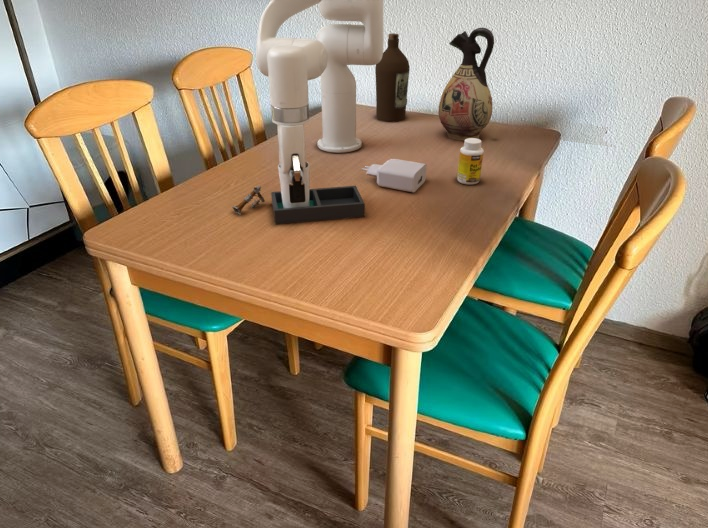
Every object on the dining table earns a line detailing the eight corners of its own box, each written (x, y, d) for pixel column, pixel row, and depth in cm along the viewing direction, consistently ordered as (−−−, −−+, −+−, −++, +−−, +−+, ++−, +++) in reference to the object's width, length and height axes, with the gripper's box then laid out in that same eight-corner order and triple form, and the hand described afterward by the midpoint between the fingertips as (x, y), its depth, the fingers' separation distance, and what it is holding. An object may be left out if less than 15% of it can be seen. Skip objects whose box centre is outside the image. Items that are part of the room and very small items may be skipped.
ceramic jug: (427, 139, 169) (435, 27, 152) (449, 125, 179) (458, 20, 163) (482, 149, 161) (497, 33, 144) (501, 134, 172) (516, 24, 155)
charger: (370, 171, 147) (425, 180, 142) (355, 183, 141) (412, 194, 135) (371, 153, 145) (427, 162, 139) (355, 165, 138) (413, 175, 132)
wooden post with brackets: (269, 199, 131) (261, 184, 127) (245, 222, 128) (236, 208, 125) (264, 197, 132) (256, 182, 128) (240, 220, 129) (231, 205, 126)
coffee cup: (313, 213, 125) (311, 169, 119) (283, 216, 123) (279, 172, 118) (309, 201, 130) (307, 158, 124) (279, 203, 129) (276, 160, 123)
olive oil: (368, 118, 186) (369, 34, 172) (386, 111, 193) (388, 30, 179) (395, 124, 180) (398, 38, 167) (413, 116, 187) (417, 33, 174)
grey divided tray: (272, 204, 130) (271, 191, 129) (355, 198, 133) (355, 185, 131) (275, 224, 122) (274, 210, 120) (364, 216, 125) (364, 203, 123)
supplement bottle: (467, 187, 138) (472, 145, 133) (452, 180, 142) (456, 139, 137) (484, 182, 141) (489, 141, 135) (468, 175, 145) (473, 135, 139)
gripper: (268, 102, 121) (275, 179, 131) (274, 127, 107) (281, 211, 117) (304, 100, 122) (307, 177, 132) (314, 124, 108) (317, 208, 118)
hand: (295, 193), depth 124 cm, fingers open, 9 cm apart
